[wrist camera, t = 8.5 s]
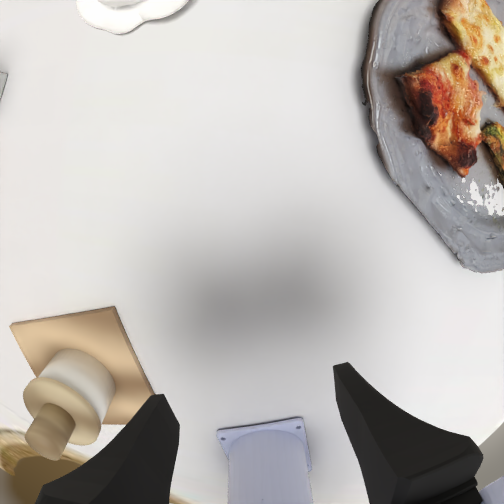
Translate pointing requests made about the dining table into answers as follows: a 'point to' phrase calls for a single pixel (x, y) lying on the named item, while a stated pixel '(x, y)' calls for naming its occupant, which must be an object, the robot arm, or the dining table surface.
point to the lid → (58, 417)
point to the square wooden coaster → (95, 344)
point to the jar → (83, 377)
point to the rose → (125, 12)
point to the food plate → (442, 114)
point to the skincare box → (2, 81)
